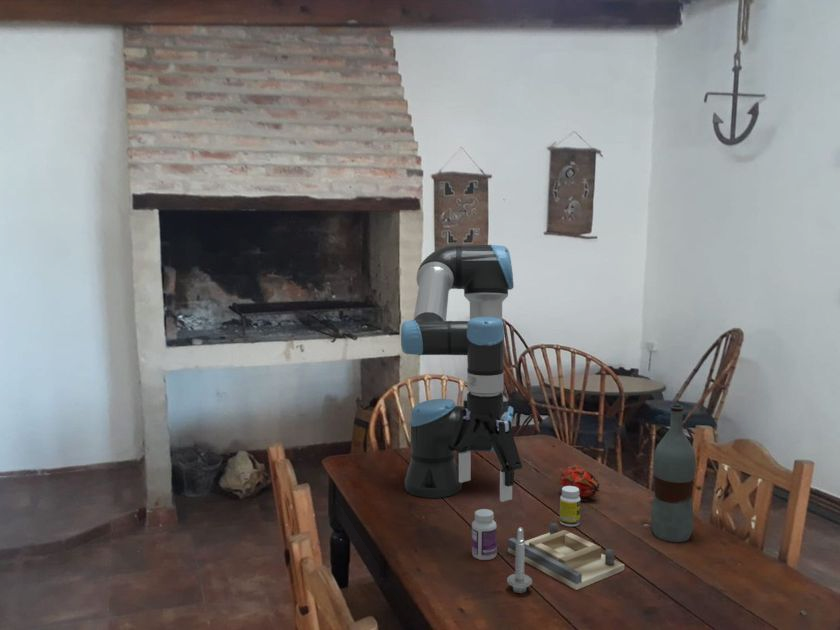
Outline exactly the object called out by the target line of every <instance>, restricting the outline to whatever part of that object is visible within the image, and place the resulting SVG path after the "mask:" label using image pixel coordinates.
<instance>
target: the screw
mask: <svg viewBox="0 0 840 630" xmlns="http://www.w3.org/2000/svg"><path fill="white" fill-rule="evenodd" d="M524 533H525V532H524V528H523V527H522V526H520V527H518V528H517V531H516V538H515V539H516V543H515V544H516V545H515V547H516V548H515V550H516V551H515V552H516V554H515V555H516V556H514V559H515V560H514V561H515V562H514V567H515V568H514V570H515V571H514V573H512V574H509V576H508V577H507V578H506V582H507V584H508V585H509V586H511V587H512V591H513V593H516V594H517V593H518V594H523V593H526V592H527V588H528V587H530V586H531V585H533V579H532V578H531V577H530V576H529V575H527V574H525V569H526V568H525V563H526V562H525V561H524V560H525V559H524V557H525V556H524V555H525V553H524V552H525V550H524V549H525V547H524V546H525V544H524V543H525V541H526V540H525V538H524V536H525V535H524Z"/></svg>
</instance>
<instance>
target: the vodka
mask: <svg viewBox="0 0 840 630" xmlns="http://www.w3.org/2000/svg"><path fill="white" fill-rule="evenodd" d="M683 411H684V406H682V405H680V404H671V405H670V420H669V421H670V423H669V424H670V425H669V429H668V431H667V432H666V433H665V435H664V436H663V437H662V439H661V440H660V441H659V443H657V445H656V446H655V450H654V455H653V456H654V457H653V462H652V463H653V464H652V465H653V475H654V476H653V477H654V478H653V481H654V497H653V501H652V508H651V513H650V515H651V516H650V518H651V529H652V533H653V535H654V536H655V537H656V538H658V539H659V540H662V539H663V541H665V542H669V543H670V542H671V543H683V542H684V543H685V542H686V541H689V539H690V538H691V537H692V536H691V535H692V532H693V526H694V521H695V520H694V510H693V491H694V486H695V485H694V484H695V477H696V472H697V471H696V470H697V461H696V460H697V459H696V453H695V450H694V447H693V445H692V444H691V442H690V441H689V439H688V437H687V435H686V434H685V433H684V430H683V417H684V416H683V415H684V413H683Z"/></svg>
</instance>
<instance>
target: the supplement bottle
mask: <svg viewBox="0 0 840 630" xmlns="http://www.w3.org/2000/svg"><path fill="white" fill-rule="evenodd" d="M581 501H582V500H580V497H579V488H577V487H574V486H565V487H564V486H563V487H562V488H561V495H560V498H559V523H560V524H561V525H563V526H564V527H577V526H579V525H580V523H581Z"/></svg>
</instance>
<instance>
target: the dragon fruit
mask: <svg viewBox="0 0 840 630" xmlns="http://www.w3.org/2000/svg"><path fill="white" fill-rule="evenodd" d="M560 475H561V478H560V477H559V480H558V482H557V483H558V484H559V485H562V486H563V487H565V486H574V487H577V488H579V497H580V501H582V502H585V501H588V499H587V498H585V497H596V495H597V494H598V493H600V491H599V489H600V487H599V486H600V483H598V482H599V481H598V480H597V479H596V476H595V475H593V473H590V472H588V471H587V469H586V468H585V467H582V466H579V465H576V464H573V465H571V466H567V467H566V469H564V470H563V471H562V472H561V474H560Z"/></svg>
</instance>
